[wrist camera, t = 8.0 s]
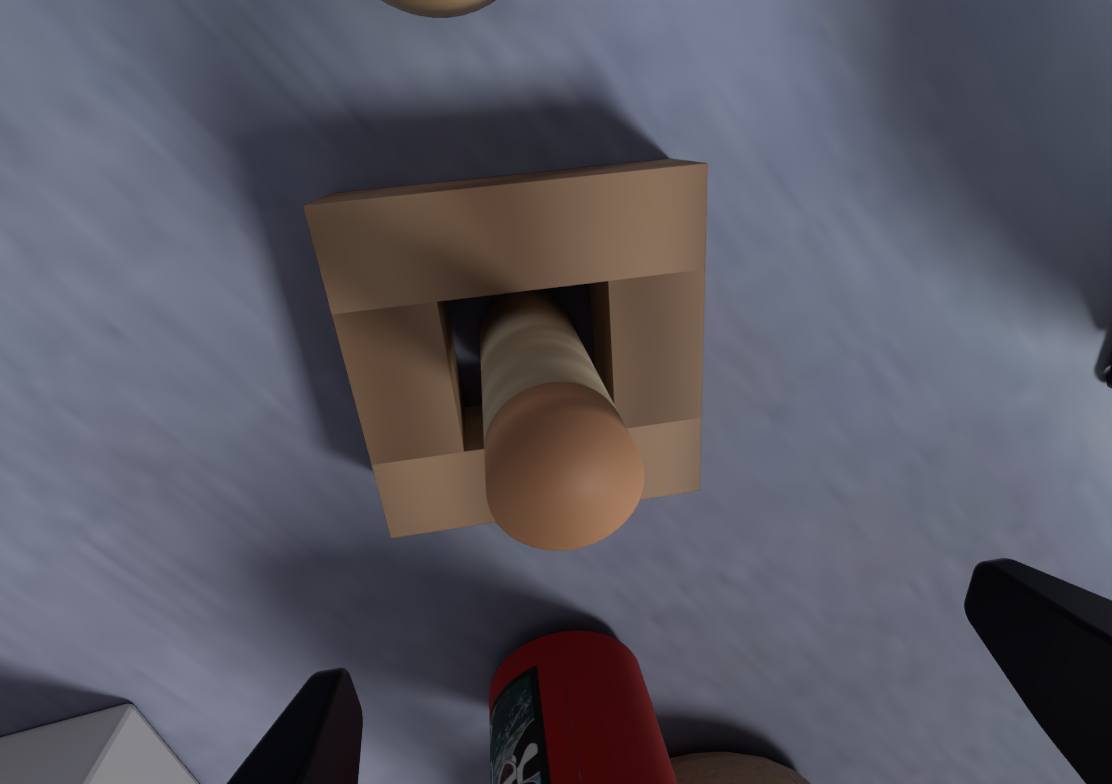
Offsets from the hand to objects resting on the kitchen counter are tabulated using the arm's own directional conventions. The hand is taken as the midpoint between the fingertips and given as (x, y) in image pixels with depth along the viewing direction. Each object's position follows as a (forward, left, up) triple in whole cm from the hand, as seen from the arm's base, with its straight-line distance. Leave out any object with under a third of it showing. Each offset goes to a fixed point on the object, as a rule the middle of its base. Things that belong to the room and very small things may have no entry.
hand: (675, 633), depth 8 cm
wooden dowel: (+1, -1, -12) cm, 12 cm away
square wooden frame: (+1, 0, -12) cm, 12 cm away
